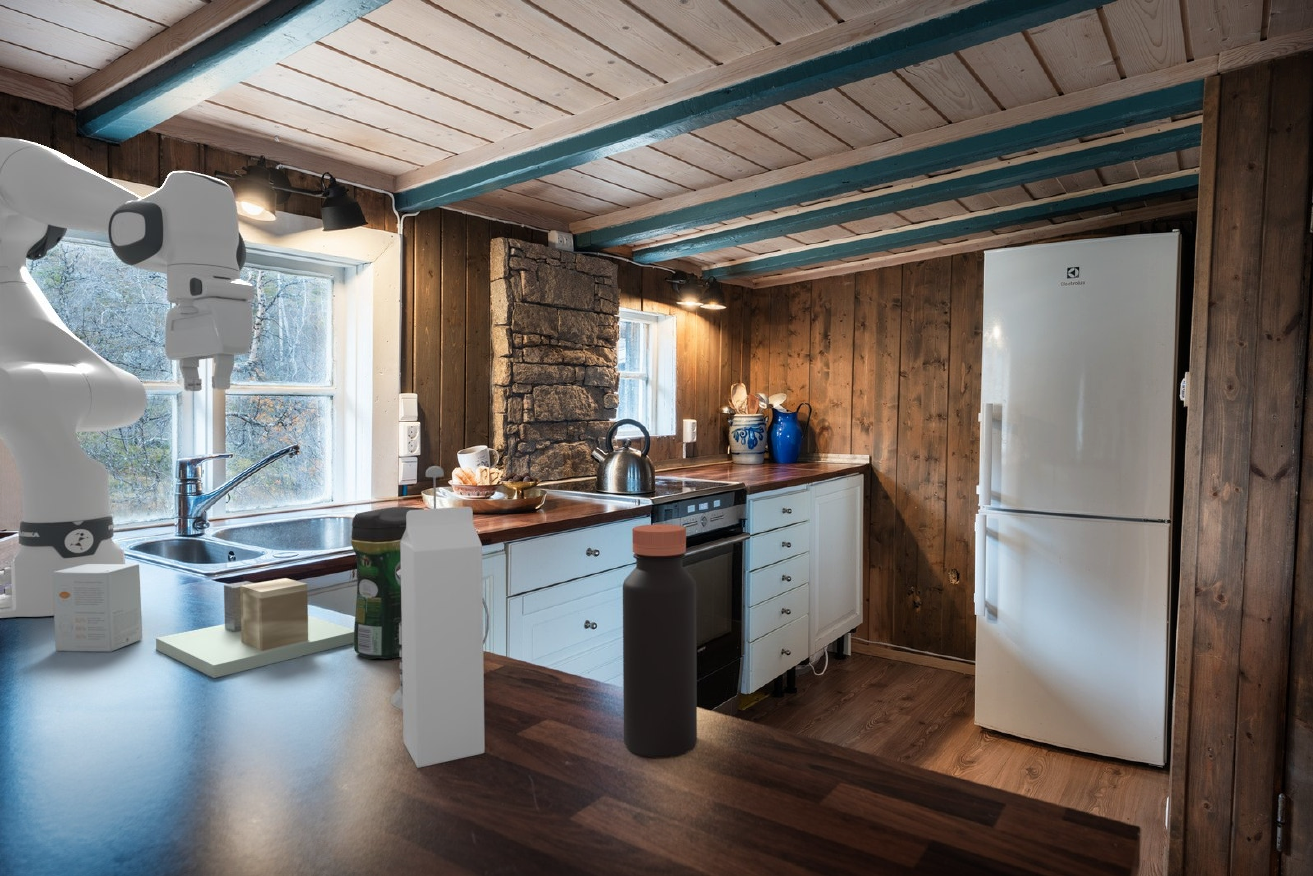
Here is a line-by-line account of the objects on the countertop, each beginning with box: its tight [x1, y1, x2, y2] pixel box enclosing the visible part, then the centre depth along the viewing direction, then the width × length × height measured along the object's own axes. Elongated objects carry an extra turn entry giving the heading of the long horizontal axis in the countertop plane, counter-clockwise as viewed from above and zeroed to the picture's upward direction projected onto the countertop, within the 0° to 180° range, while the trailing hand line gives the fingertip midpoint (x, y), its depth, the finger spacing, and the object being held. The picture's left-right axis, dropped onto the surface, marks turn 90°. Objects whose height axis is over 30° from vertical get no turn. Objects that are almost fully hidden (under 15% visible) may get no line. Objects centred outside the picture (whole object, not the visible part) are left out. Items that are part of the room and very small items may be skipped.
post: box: [223, 580, 255, 632], centre depth 105 cm, size 3×3×8 cm
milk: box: [400, 506, 485, 769], centre depth 70 cm, size 6×6×22 cm
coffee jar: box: [350, 506, 424, 660], centre depth 100 cm, size 10×8×19 cm
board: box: [155, 614, 354, 679], centre depth 102 cm, size 18×18×2 cm
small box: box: [52, 563, 143, 653], centre depth 103 cm, size 8×6×10 cm
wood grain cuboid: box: [240, 577, 309, 651], centre depth 99 cm, size 6×6×7 cm
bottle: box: [622, 523, 698, 759], centre depth 71 cm, size 7×7×20 cm
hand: (206, 390), depth 108 cm, fingers open, 8 cm apart
